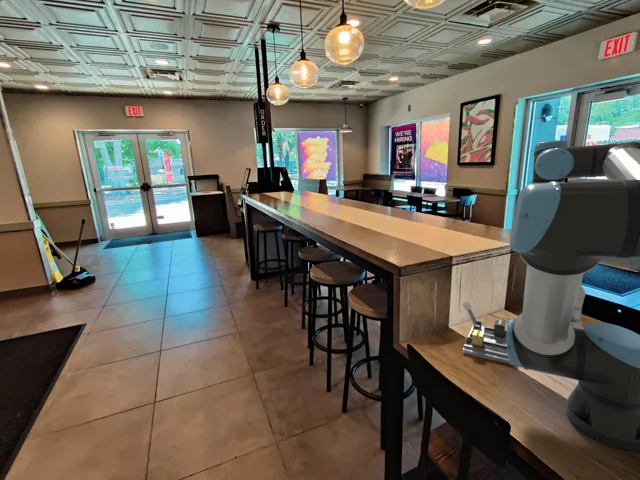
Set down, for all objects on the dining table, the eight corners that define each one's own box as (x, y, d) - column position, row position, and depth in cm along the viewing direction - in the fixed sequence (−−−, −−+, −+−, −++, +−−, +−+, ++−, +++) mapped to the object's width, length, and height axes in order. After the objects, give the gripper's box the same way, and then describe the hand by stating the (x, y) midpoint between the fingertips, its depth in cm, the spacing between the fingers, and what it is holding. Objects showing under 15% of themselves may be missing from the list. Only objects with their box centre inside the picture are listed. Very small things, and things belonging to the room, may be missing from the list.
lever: (479, 329, 112) (467, 303, 113) (475, 330, 113) (462, 304, 114) (480, 326, 114) (468, 300, 114) (476, 327, 115) (464, 301, 115)
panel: (516, 366, 96) (517, 353, 95) (462, 352, 105) (463, 340, 103) (520, 337, 110) (521, 326, 109) (473, 328, 119) (473, 317, 118)
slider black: (503, 337, 108) (504, 325, 107) (493, 335, 109) (494, 323, 108) (504, 333, 111) (505, 320, 109) (495, 331, 112) (495, 319, 111)
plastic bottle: (559, 334, 110) (565, 280, 106) (556, 324, 116) (561, 273, 111) (583, 337, 107) (590, 282, 103) (578, 327, 113) (584, 275, 108)
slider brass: (482, 348, 103) (482, 335, 102) (472, 346, 105) (472, 333, 103) (483, 343, 106) (484, 330, 105) (473, 341, 107) (474, 328, 106)
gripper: (574, 194, 90) (566, 272, 96) (520, 195, 98) (516, 267, 103) (577, 198, 84) (568, 280, 90) (519, 198, 92) (515, 275, 97)
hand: (540, 273), depth 96 cm, fingers closed
